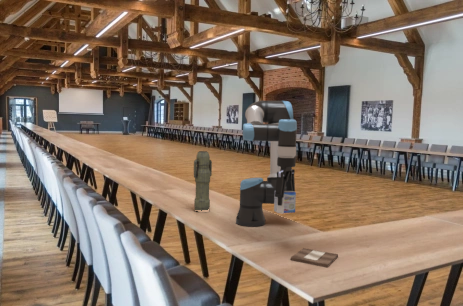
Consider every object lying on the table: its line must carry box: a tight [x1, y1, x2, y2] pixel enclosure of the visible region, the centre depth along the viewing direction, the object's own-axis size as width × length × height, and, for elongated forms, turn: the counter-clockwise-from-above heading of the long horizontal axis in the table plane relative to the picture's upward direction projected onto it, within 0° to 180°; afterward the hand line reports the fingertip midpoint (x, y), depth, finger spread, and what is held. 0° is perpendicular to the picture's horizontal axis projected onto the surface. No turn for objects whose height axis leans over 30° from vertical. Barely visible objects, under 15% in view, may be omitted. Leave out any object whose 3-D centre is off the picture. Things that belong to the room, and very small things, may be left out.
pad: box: [290, 247, 339, 268], centre depth 150 cm, size 14×14×1 cm
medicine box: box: [273, 191, 297, 214], centre depth 164 cm, size 8×4×9 cm, turn 106°
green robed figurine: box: [193, 150, 213, 211], centre depth 231 cm, size 9×12×35 cm
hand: (284, 211), depth 165 cm, fingers closed on medicine box, 8 cm apart
